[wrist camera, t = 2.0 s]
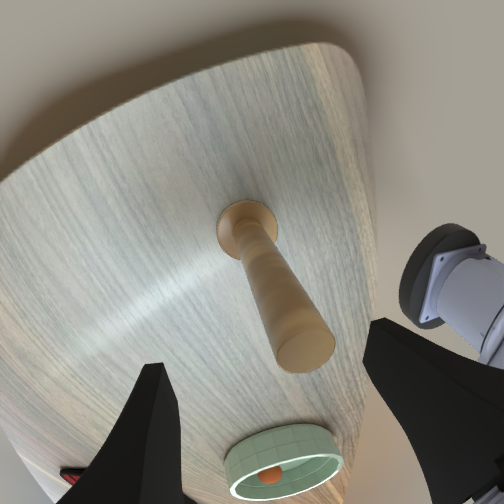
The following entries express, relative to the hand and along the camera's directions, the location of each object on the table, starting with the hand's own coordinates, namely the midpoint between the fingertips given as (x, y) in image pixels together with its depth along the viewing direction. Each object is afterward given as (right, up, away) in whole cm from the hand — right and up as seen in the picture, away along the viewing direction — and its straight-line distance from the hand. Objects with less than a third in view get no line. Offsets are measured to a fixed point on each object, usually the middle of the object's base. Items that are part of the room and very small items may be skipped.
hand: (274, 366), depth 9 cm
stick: (-1, +5, +9) cm, 10 cm away
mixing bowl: (+2, -20, +20) cm, 29 cm away
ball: (+1, -23, +19) cm, 29 cm away
